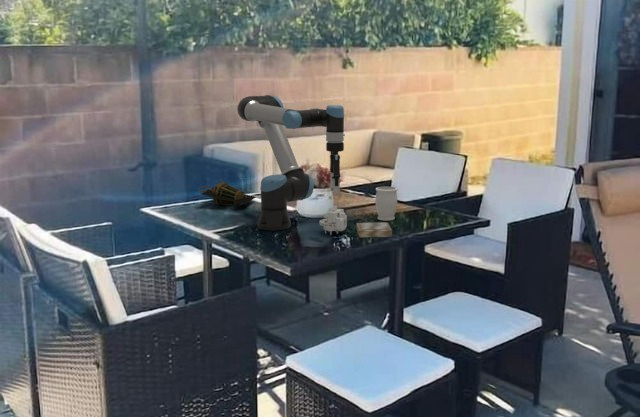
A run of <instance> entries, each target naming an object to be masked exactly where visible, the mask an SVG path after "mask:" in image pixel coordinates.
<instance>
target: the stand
mask: <svg viewBox="0 0 640 417" xmlns="http://www.w3.org/2000/svg"><path fill="white" fill-rule="evenodd" d="M356 232H357V235H358V238H392V237H393V229H392V228H391V226H390V223H389V222H387V221H384V222H356Z"/></svg>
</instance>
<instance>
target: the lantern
mask: <svg viewBox="0 0 640 417" xmlns="http://www.w3.org/2000/svg"><path fill="white" fill-rule="evenodd" d="M210 187H211V186H210V185H203V186H202V185H201V186H199V188H198V191H199V192H200V193H201V195H203V196H207V197H210V198H212V199H213V202H214V204H215V205H217V204H218V205H219V206H221V205H222V206H223V205H224V206H233V207H234V206H235V207H239V208H241V206H242V205H247V204H248V203H250V202H251V201H253V200H254V199H255V198H257V196H253V195H250V194H249V195H248V194H246V193H245V191H243V190H241V189H238V188H235V187H233V186H232V185H230V184H228V183H226V182H224V181H223V180H220V183H219V182H218V184H215V183H214V184H213V187H212V188H210ZM203 188H207V189H204V190H201V189H203ZM220 204H221V205H220Z"/></svg>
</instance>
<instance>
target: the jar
mask: <svg viewBox="0 0 640 417" xmlns="http://www.w3.org/2000/svg"><path fill="white" fill-rule="evenodd" d="M375 191H376V193H375V199H374V200H375V201H374V202H375V207H376V214H377V215H378V216H377V220H378V221H383V222H387V221H388V222H389V221H394V220H395V215H396V212H397V207H398V206H397V205H398V194H397V191H398V188H397V187H395V186H378V187H376V188H375Z"/></svg>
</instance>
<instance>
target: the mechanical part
mask: <svg viewBox="0 0 640 417" xmlns="http://www.w3.org/2000/svg"><path fill="white" fill-rule="evenodd" d="M344 210H345V209H343V208H338V205H333V207H330V208H329V209H327V212H326V213H325V214H324V215H323V219H320V220H319V225H320V226H322V227H323V228H322V229H323V230H324V233H325V234H327V231H328V233H330V234H329V235H330V236H331V235H332V232H335V233H336V234H337V235H338V234H339V232H342V231H345V230H346V229H347V225H348V224H347V222H348V220H347V219H348V218H347V217H348V215H347V214H346V213H345V212H344Z"/></svg>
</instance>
